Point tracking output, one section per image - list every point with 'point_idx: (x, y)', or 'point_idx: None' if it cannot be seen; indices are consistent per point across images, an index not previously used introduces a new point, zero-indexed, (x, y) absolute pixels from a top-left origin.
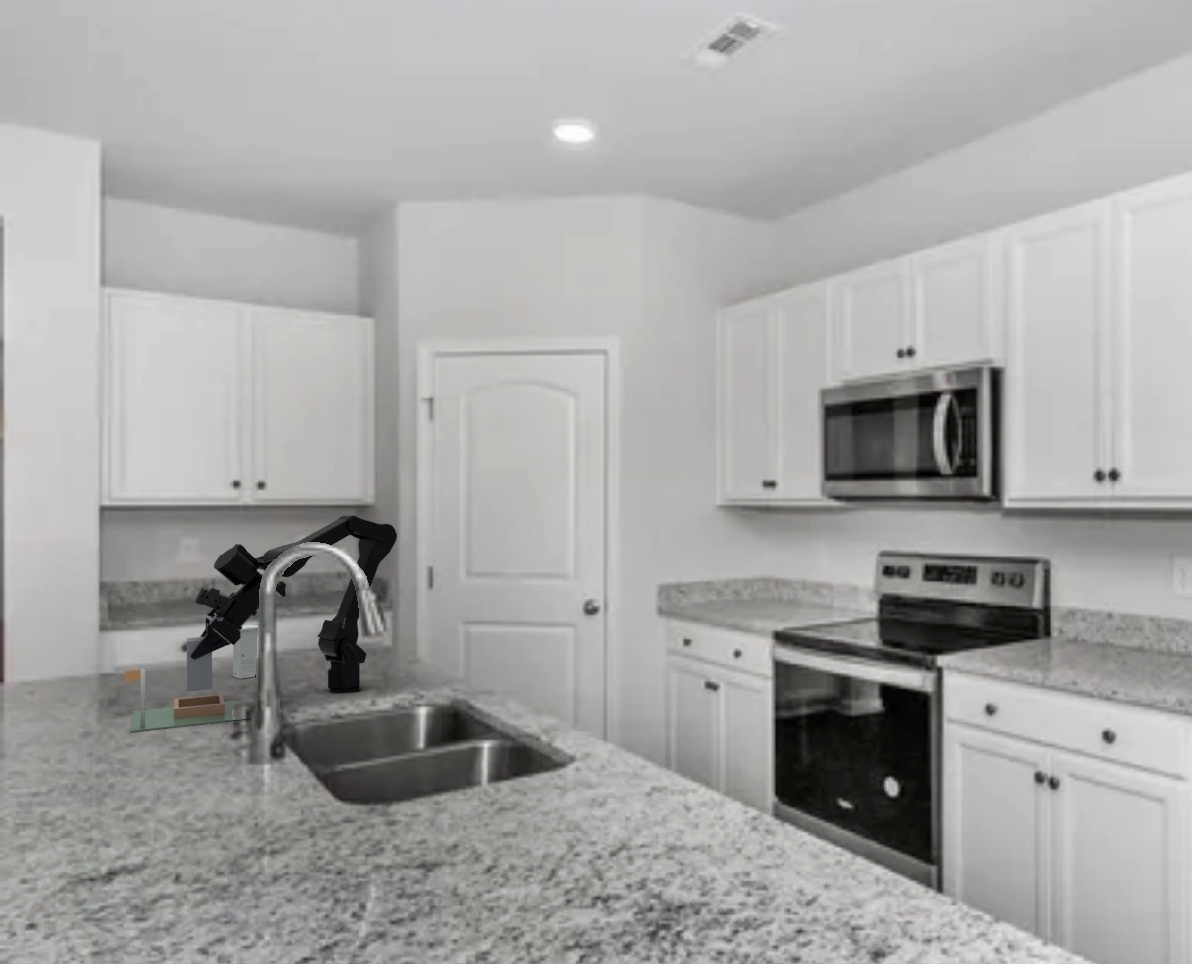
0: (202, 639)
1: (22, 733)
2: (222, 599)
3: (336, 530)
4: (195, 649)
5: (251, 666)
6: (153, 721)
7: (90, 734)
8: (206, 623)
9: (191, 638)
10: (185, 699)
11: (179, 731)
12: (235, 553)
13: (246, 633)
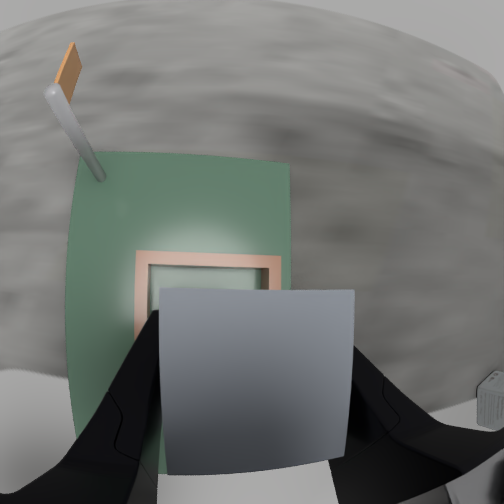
0: (134, 416)
1: (207, 5)
2: None
3: None
4: (135, 345)
5: (492, 411)
6: (143, 201)
7: (120, 83)
8: (427, 462)
9: (316, 327)
10: (268, 288)
11: (30, 262)
12: None
13: None
